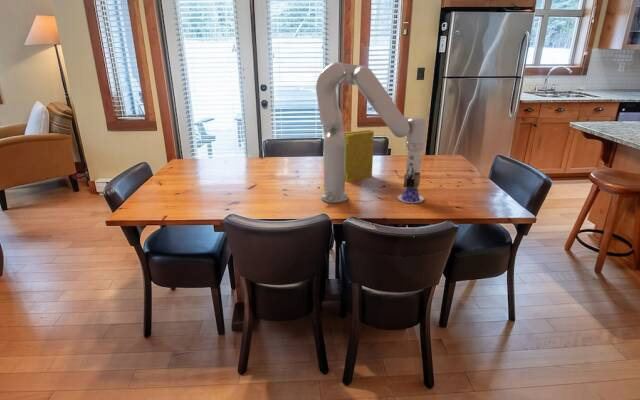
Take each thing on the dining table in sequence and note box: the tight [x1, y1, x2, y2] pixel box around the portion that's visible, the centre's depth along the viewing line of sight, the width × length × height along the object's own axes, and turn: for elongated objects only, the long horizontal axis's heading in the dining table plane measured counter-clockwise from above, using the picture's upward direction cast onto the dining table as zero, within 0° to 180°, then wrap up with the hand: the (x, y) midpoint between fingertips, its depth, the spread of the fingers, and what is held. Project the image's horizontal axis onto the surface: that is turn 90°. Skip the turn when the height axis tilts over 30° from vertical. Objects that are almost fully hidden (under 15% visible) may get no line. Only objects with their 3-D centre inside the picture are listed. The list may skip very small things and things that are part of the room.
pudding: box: [397, 187, 425, 204], centre depth 172 cm, size 12×12×5 cm
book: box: [344, 129, 375, 182], centre depth 198 cm, size 17×7×25 cm, turn 112°
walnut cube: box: [403, 171, 421, 190], centre depth 169 cm, size 6×6×6 cm
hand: (411, 184), depth 170 cm, fingers closed on walnut cube, 6 cm apart
